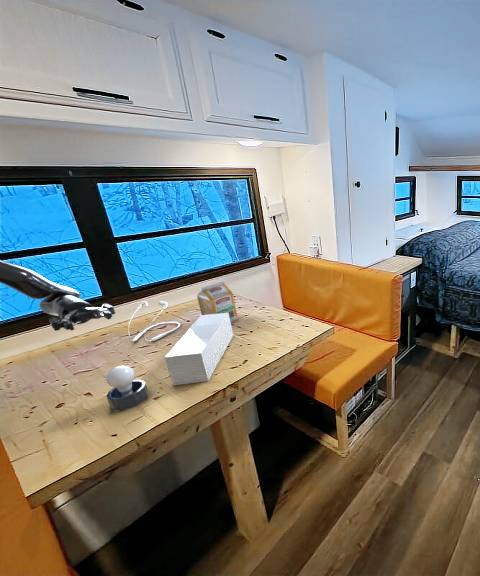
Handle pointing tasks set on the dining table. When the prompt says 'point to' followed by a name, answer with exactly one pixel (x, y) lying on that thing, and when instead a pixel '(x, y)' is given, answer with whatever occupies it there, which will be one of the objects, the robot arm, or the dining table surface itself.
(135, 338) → the earphone
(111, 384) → the lightbulb
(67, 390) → the dining table surface
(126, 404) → the socket
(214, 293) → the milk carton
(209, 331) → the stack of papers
